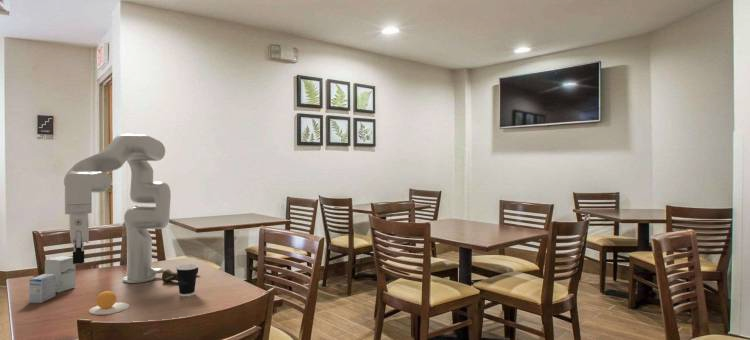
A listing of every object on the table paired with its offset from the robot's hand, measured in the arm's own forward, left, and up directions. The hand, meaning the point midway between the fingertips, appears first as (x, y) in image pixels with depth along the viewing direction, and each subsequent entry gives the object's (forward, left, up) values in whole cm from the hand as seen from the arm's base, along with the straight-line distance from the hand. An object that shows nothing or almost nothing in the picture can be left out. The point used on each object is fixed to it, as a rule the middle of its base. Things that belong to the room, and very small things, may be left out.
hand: (78, 263), depth 150 cm
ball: (-8, -1, -14) cm, 16 cm away
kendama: (-37, -26, -18) cm, 48 cm away
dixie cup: (-35, -3, -17) cm, 39 cm away
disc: (-9, 0, -17) cm, 19 cm away
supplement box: (+6, -36, -17) cm, 40 cm away
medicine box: (+11, -24, -17) cm, 32 cm away
